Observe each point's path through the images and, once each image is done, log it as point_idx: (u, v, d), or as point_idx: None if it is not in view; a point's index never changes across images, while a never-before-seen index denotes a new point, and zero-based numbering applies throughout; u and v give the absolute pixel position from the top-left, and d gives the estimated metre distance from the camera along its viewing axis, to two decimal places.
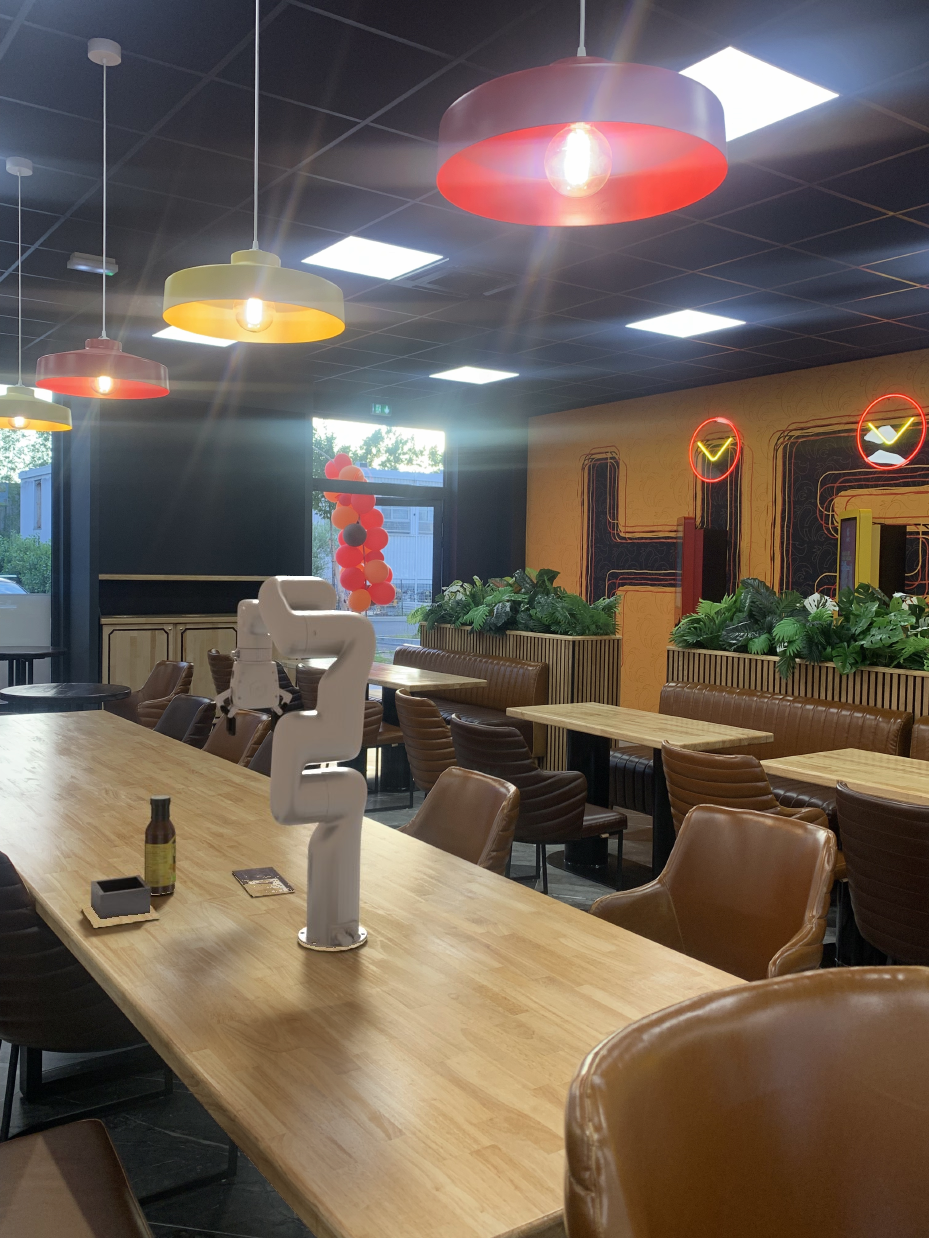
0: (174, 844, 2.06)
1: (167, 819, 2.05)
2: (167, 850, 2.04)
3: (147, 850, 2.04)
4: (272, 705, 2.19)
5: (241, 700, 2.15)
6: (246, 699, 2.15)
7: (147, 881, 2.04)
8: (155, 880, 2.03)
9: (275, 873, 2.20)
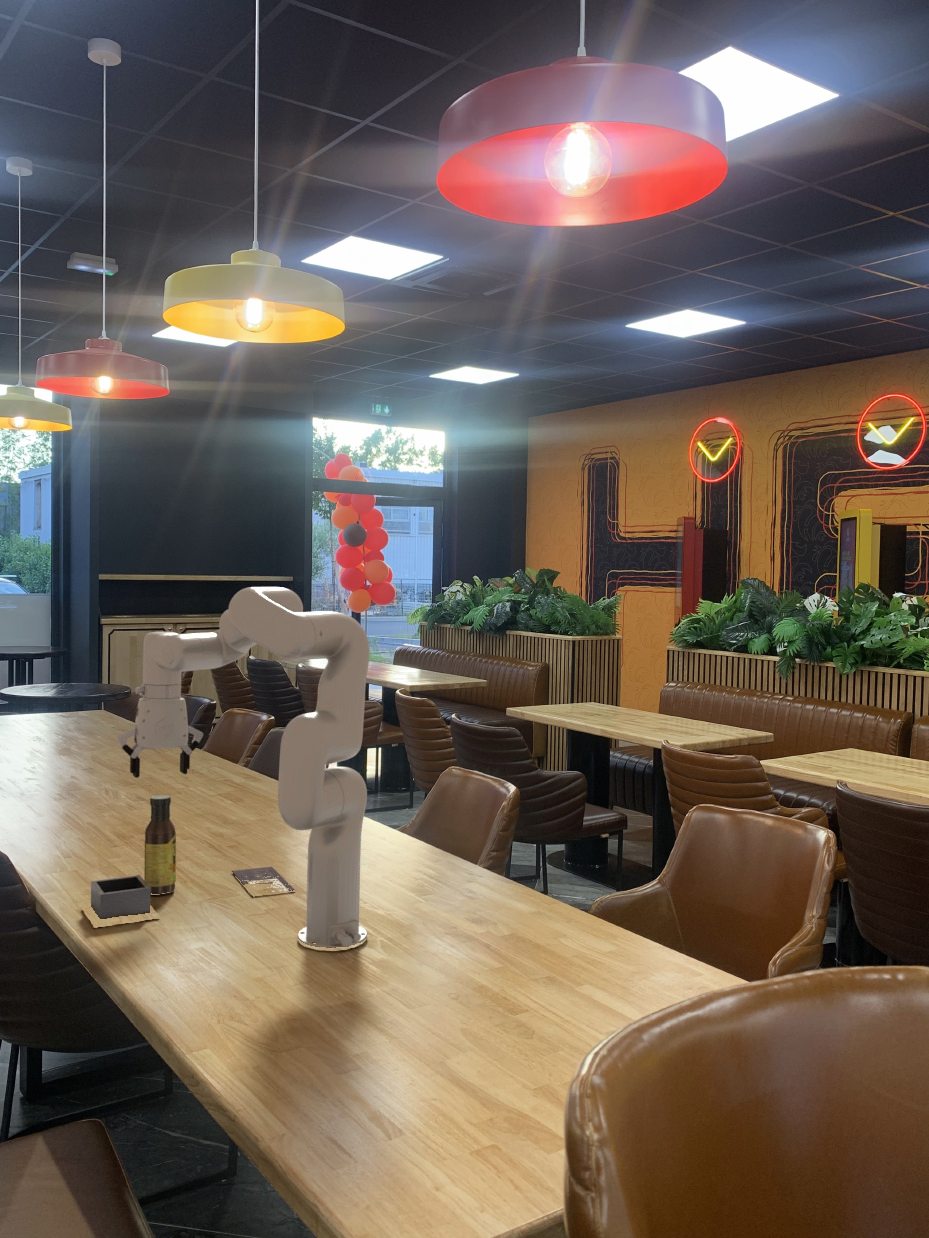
0: (174, 844, 2.06)
1: (167, 819, 2.05)
2: (167, 850, 2.04)
3: (147, 850, 2.04)
4: (180, 745, 2.05)
5: (145, 740, 2.01)
6: (151, 739, 2.02)
7: (147, 881, 2.04)
8: (155, 880, 2.03)
9: (275, 873, 2.20)
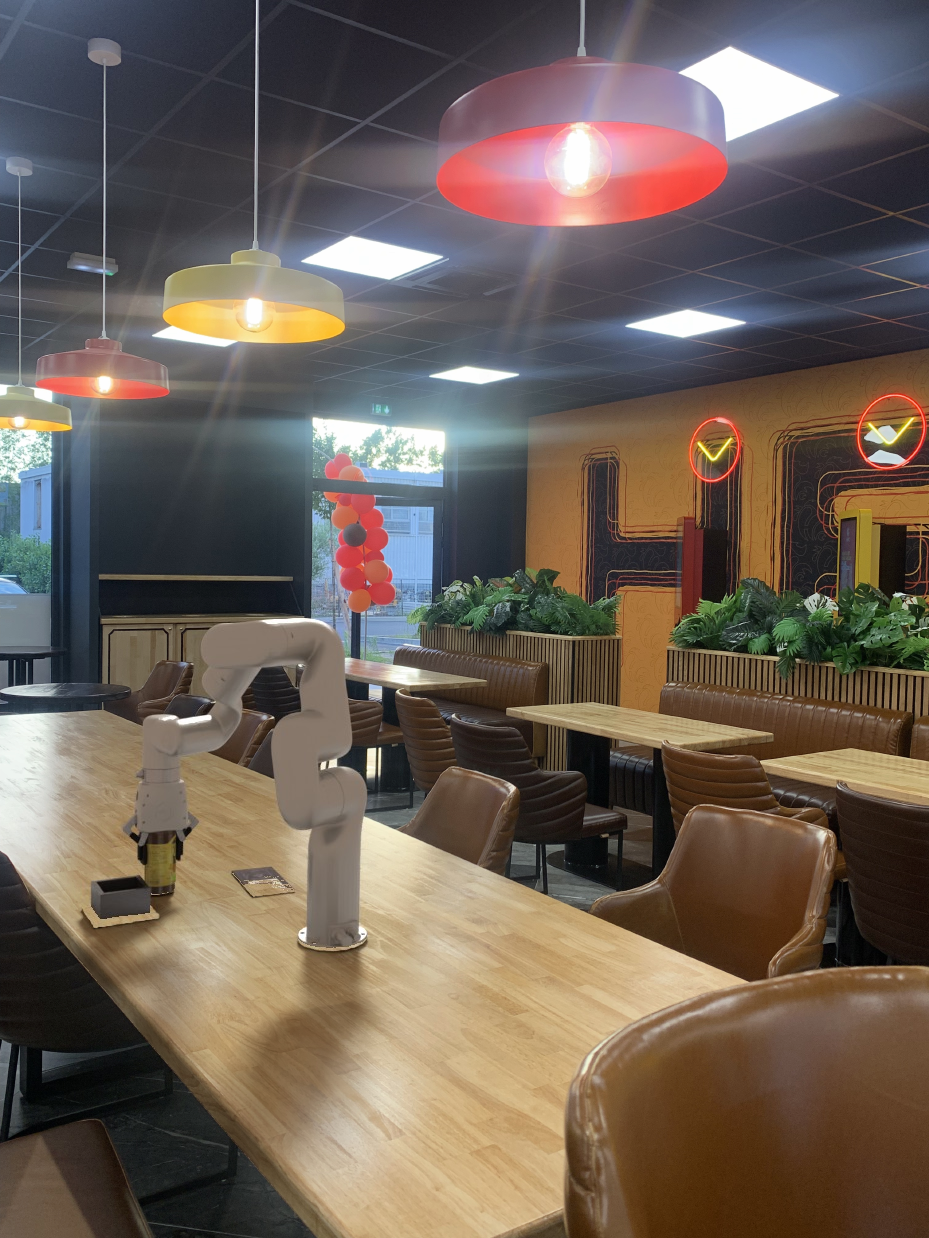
0: (174, 844, 2.06)
1: None
2: (167, 850, 2.04)
3: (147, 850, 2.04)
4: (180, 827, 2.06)
5: (145, 824, 2.02)
6: (151, 823, 2.02)
7: (147, 881, 2.04)
8: (155, 880, 2.03)
9: (275, 873, 2.20)
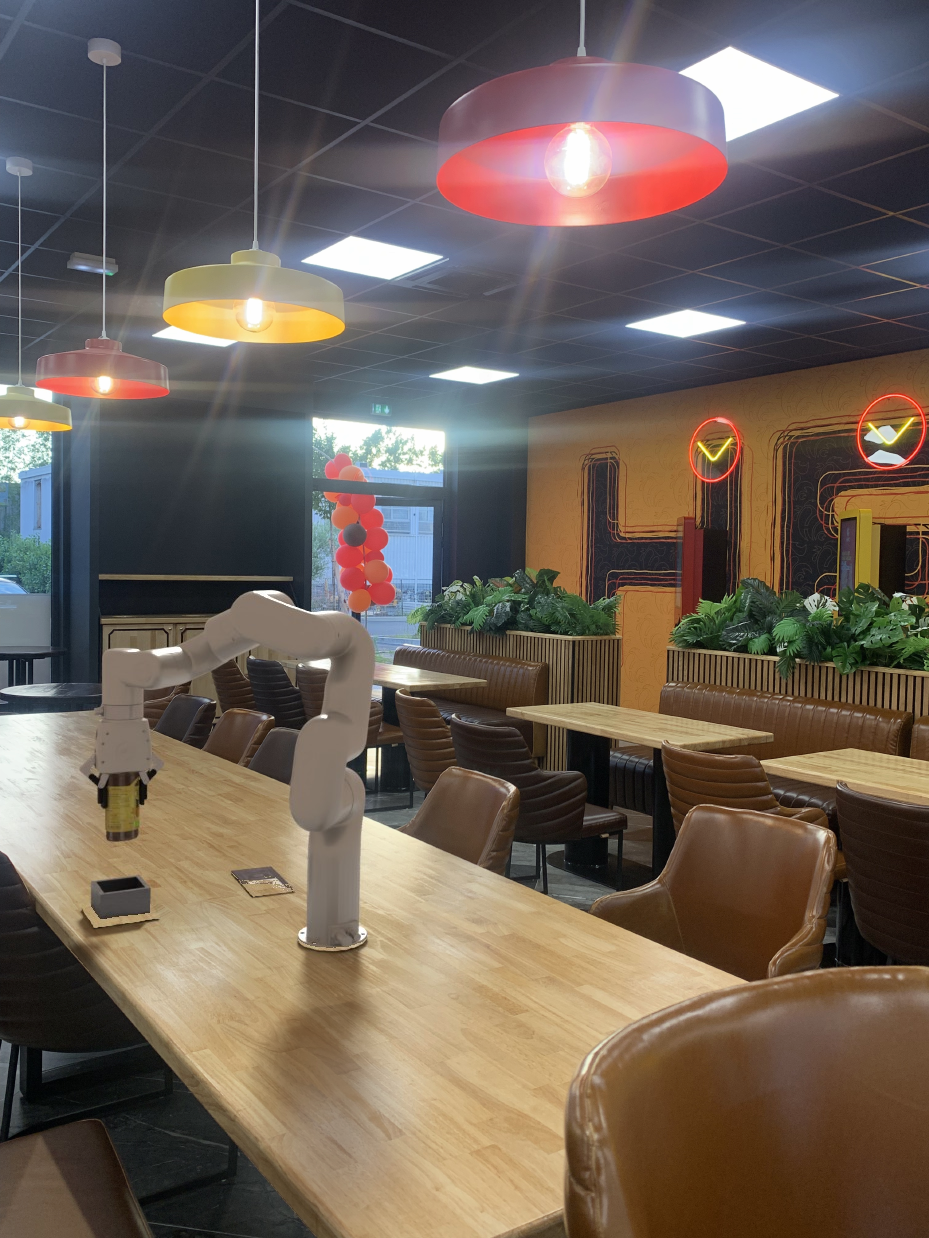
0: (137, 787, 1.92)
1: None
2: (129, 792, 1.90)
3: (107, 793, 1.90)
4: (143, 769, 1.91)
5: (105, 764, 1.88)
6: (111, 763, 1.88)
7: (108, 826, 1.90)
8: (116, 825, 1.89)
9: (274, 873, 2.20)
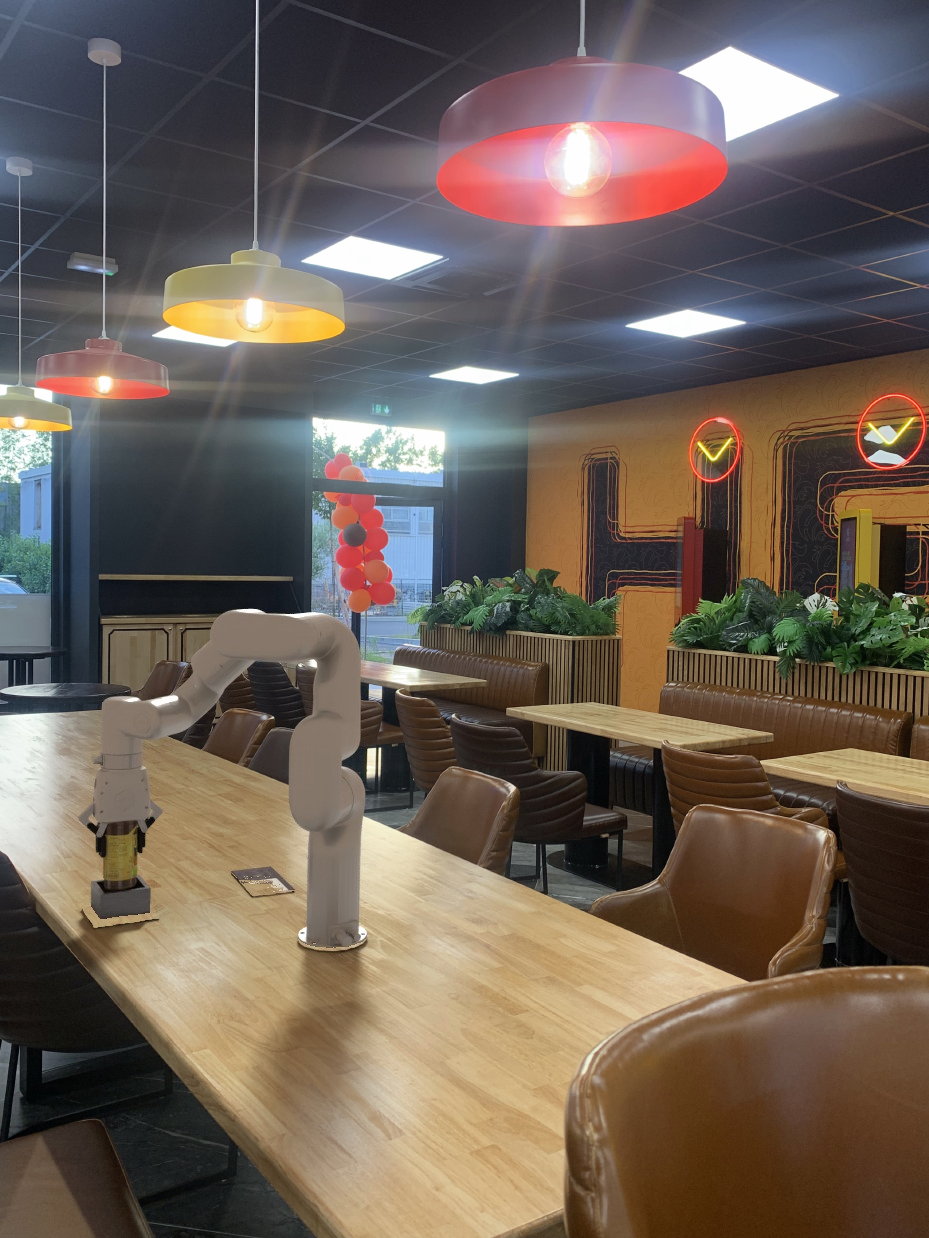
0: (135, 835, 1.92)
1: None
2: (127, 841, 1.90)
3: (106, 841, 1.90)
4: (141, 817, 1.92)
5: (104, 814, 1.88)
6: (110, 812, 1.88)
7: (106, 875, 1.90)
8: (114, 874, 1.90)
9: (274, 873, 2.20)
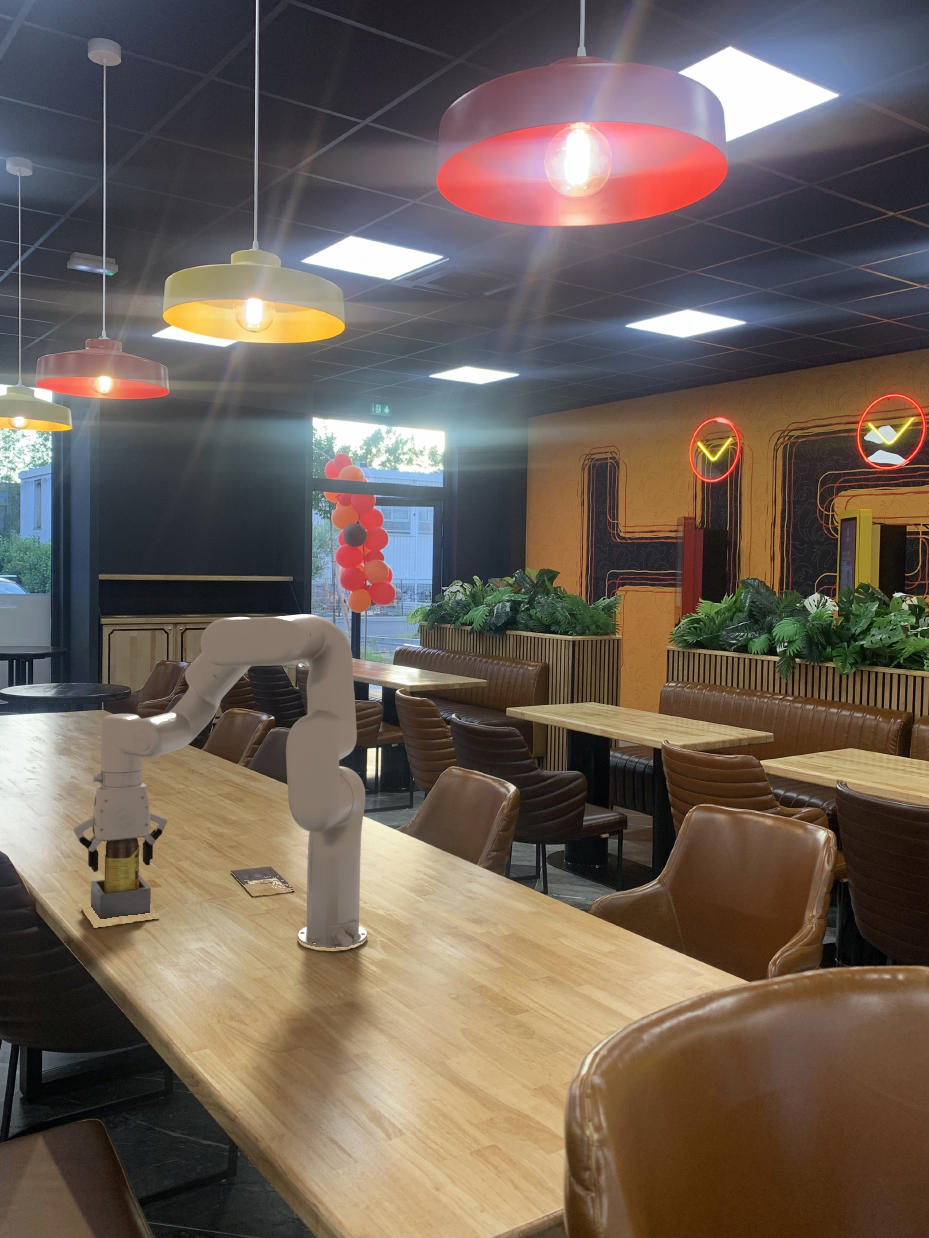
0: (137, 858, 1.92)
1: None
2: (129, 864, 1.91)
3: (107, 864, 1.90)
4: (141, 835, 1.92)
5: (104, 832, 1.88)
6: (110, 830, 1.89)
7: None
8: None
9: (274, 873, 2.20)
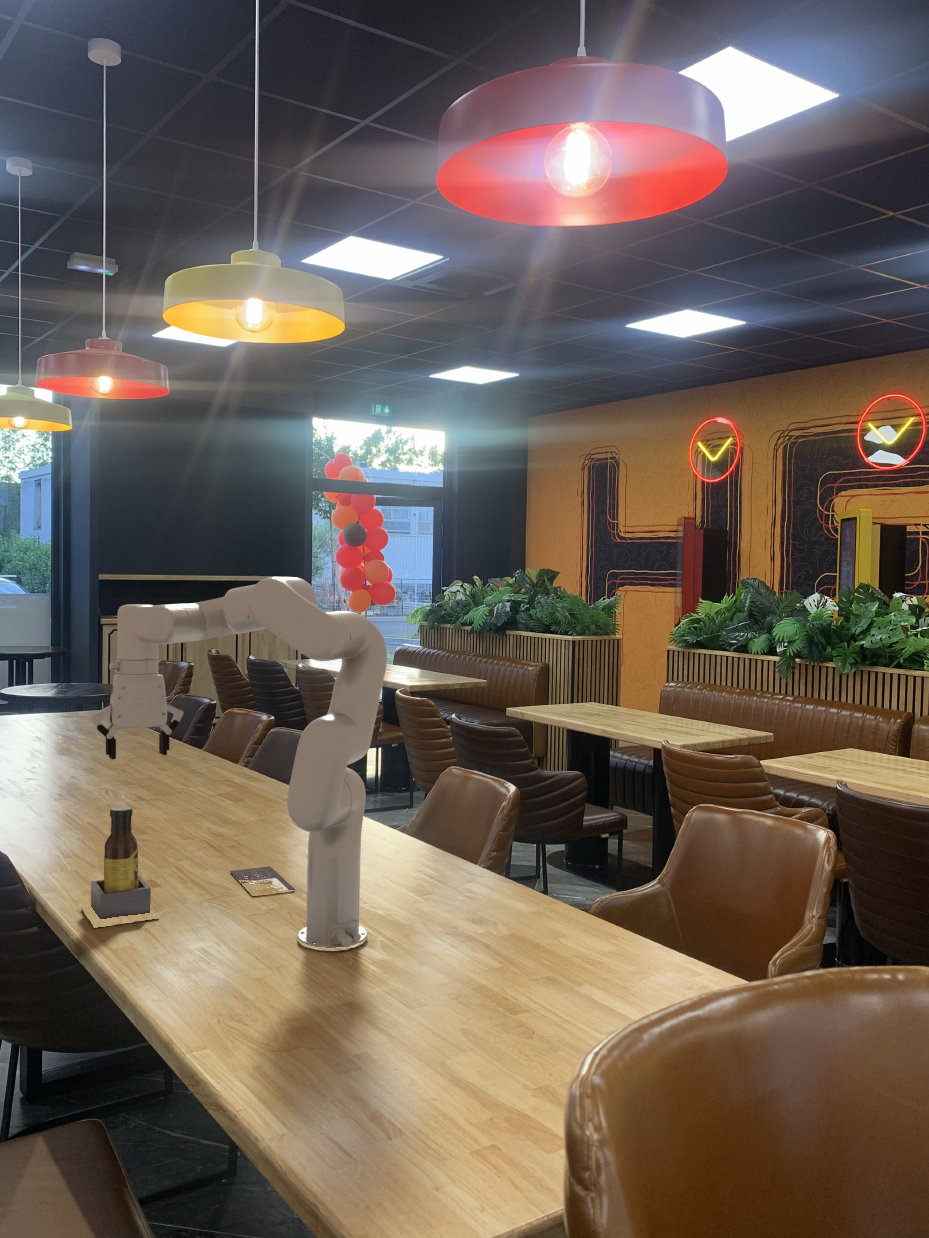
0: (136, 859, 1.92)
1: (128, 832, 1.92)
2: (128, 865, 1.90)
3: (106, 865, 1.90)
4: (159, 724, 1.93)
5: (121, 719, 1.89)
6: (127, 718, 1.89)
7: None
8: None
9: (274, 872, 2.20)
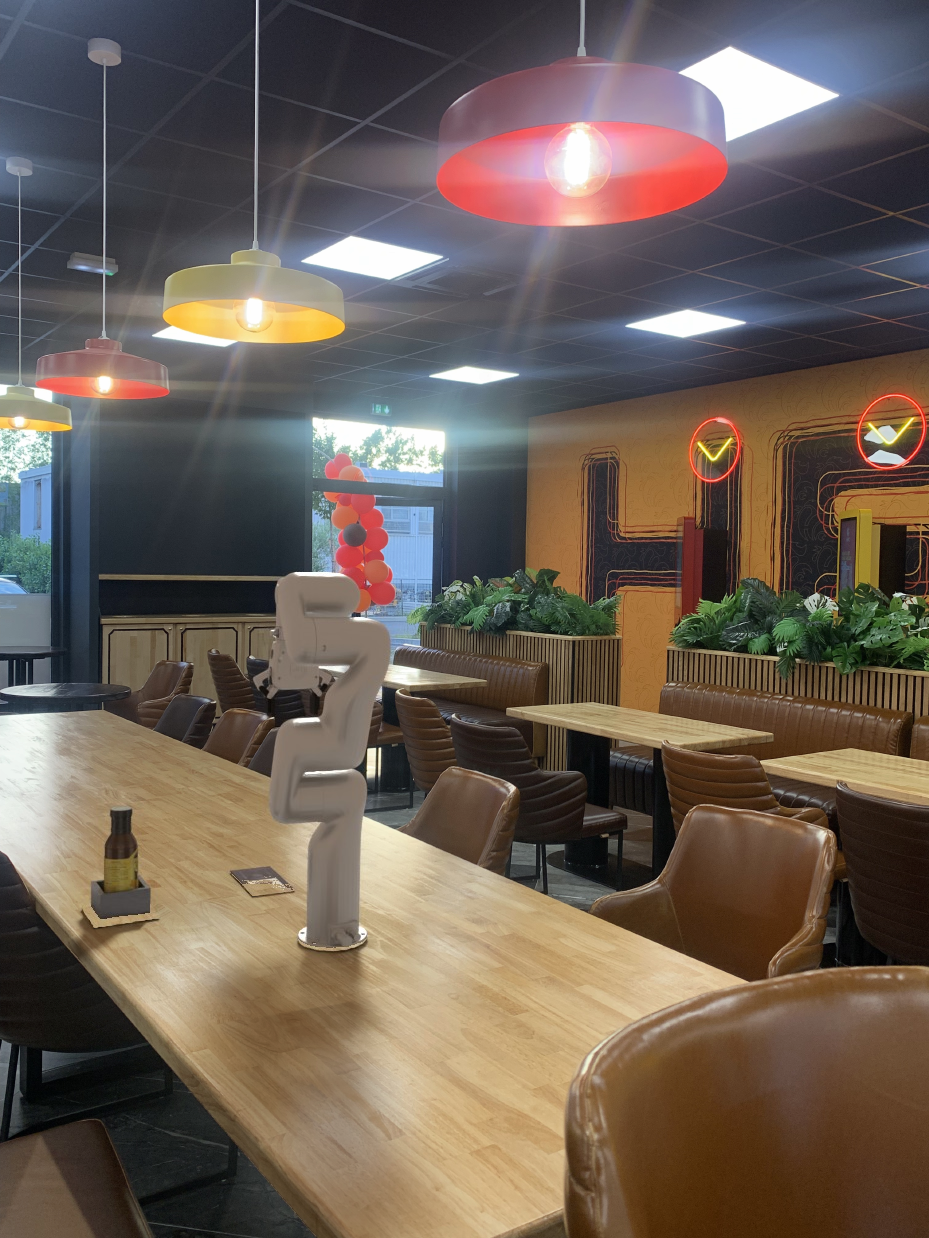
0: (136, 859, 1.92)
1: (128, 832, 1.92)
2: (128, 865, 1.90)
3: (106, 865, 1.90)
4: (312, 686, 2.12)
5: (281, 680, 2.09)
6: (286, 679, 2.09)
7: None
8: None
9: (273, 872, 2.20)
